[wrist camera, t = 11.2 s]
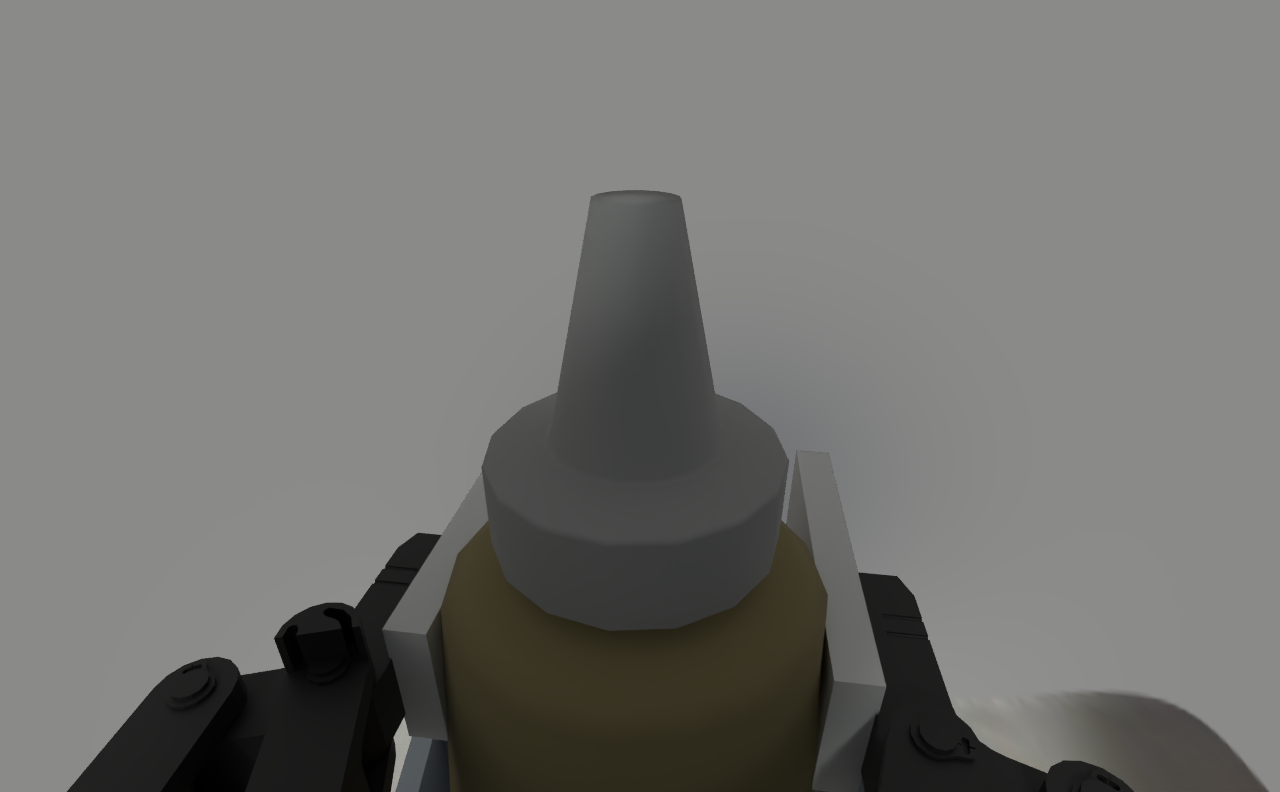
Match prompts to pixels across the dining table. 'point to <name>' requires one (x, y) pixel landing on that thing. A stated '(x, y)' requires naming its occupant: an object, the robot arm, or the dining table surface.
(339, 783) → the robot arm
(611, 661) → the squeeze bottle
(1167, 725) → the dining table surface
